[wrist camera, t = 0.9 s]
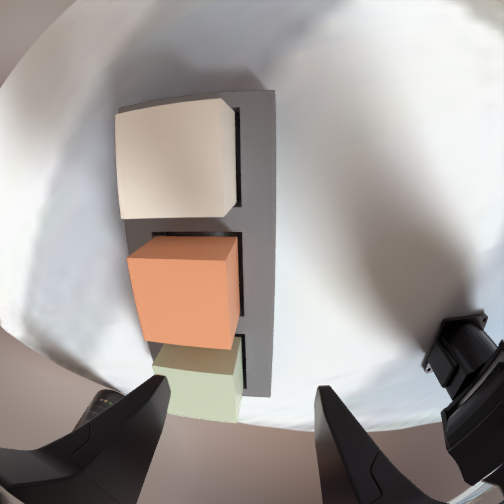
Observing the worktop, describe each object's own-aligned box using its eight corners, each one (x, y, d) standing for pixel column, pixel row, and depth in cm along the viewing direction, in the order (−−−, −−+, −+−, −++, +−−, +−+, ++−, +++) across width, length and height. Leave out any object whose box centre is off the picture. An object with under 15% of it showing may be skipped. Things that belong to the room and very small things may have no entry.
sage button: (241, 337, 19) (233, 375, 16) (243, 386, 21) (237, 423, 17) (170, 331, 20) (151, 365, 16) (181, 380, 22) (168, 413, 18)
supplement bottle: (148, 426, 29) (119, 495, 18) (106, 413, 30) (72, 474, 19) (136, 395, 27) (96, 473, 16) (91, 381, 28) (46, 447, 16)
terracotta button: (237, 236, 17) (225, 260, 13) (239, 312, 19) (231, 349, 15) (155, 236, 17) (126, 257, 14) (166, 308, 19) (144, 340, 15)
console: (275, 98, 16) (274, 90, 14) (271, 377, 24) (270, 397, 21) (136, 112, 17) (118, 108, 15) (169, 368, 25) (160, 385, 22)
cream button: (235, 111, 14) (221, 98, 11) (236, 202, 16) (223, 217, 12) (149, 120, 15) (115, 114, 11) (152, 204, 17) (120, 219, 13)
